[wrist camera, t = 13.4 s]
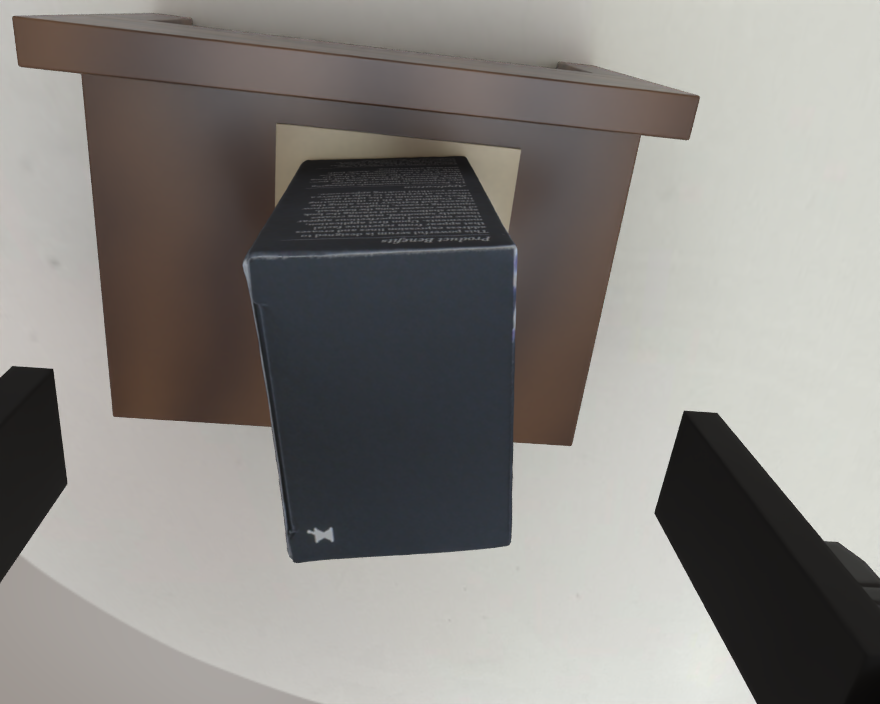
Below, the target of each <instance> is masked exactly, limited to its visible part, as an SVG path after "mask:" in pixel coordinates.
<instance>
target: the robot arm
mask: <svg viewBox="0 0 880 704" xmlns="http://www.w3.org/2000/svg"><path fill="white" fill-rule="evenodd" d="M66 485H67V476H66V468H65V460H64V452H63V444H62V436H61V427H60V419H59V411H58V403H57V395H56V387H55V379H54V371H53V369H47V368H32V367H17V366H12V367H11V368H10V369H9V370H8V371H7V372H6V373H5V374H4V375H3V376H2V377H0V582H1V581H2V579H3V578H4V576H5V575H6V573H7V572H8V570H9V569H10V568H11V566H12V565H13V563H14V562H15V560H16V559H17V557H18V556H19V554H20V553H21V551H22V550H23V548H24V547H25V546H26V544H27V543H28V541H29V540H30V538H31V537H32V535H33V534H34V532H35V531H36V529H37V528H38V526H39V525H40V523H41V522H42V521H43V519H44V518H45V516H46V515H47V513H48V512H49V510H50V509H51V507H52V506H53V504H54V503H55V501H56V500H57V498H58V497H59V496H60V494H61V493H62V491H63V490H64V488H65V487H66ZM655 515H656V517H657V519H658V521H659V523H660V525H661V526H662V528H663V530H664V532H665V534H666V536H667V538H668V539H669V541H670V543H671V545H672V547H673V549H674V551H675V552H676V554H677V556H678V558H679V560H680V562H681V564H682V565H683V567H684V569H685V571H686V573H687V575H688V577H689V578H690V580H691V582H692V584H693V586H694V588H695V590H696V591H697V593H698V595H699V597H700V599H701V601H702V603H703V604H704V606H705V608H706V610H707V612H708V614H709V616H710V617H711V619H712V621H713V623H714V625H715V627H716V629H717V630H718V632H719V634H720V636H721V638H722V640H723V642H724V643H725V645H726V647H727V649H728V651H729V653H730V655H731V656H732V658H733V660H734V662H735V664H736V666H737V668H738V669H739V671H740V673H741V675H742V677H743V679H744V681H745V682H746V684H747V686H748V688H749V690H750V692H751V694H752V695H753V697H754V699H755V701H756V703H757V704H880V578H879V577H878V576H877V575H876V574H875V573H874V571H873V570H872V569H871V568H870V567H869V566H868V565H867V563H866V562H865V561H863V560H862V559H861V558H859V557H858V556H856V555H855V554H854V553H852V552H851V551H849V550H848V549H847V548H845V547H844V546H843V545H841V544H840V543H838V542H827V541H823V540H822V538H821V537H820V536H819V535H818V533H817V532H816V531H815V530H814V529H813V527H812V526H811V525H810V524H809V523H808V521H807V520H806V519H805V518H804V517H803V515H802V514H801V513H800V512H799V511H798V509H797V508H796V507H795V506H794V505H793V503H792V502H791V501H790V500H789V499H788V497H787V496H786V495H785V494H784V493H783V491H782V490H781V489H780V488H779V487H778V485H777V484H776V483H775V482H774V481H773V479H772V478H771V477H770V476H769V475H768V473H767V472H766V471H765V470H764V469H763V467H762V466H761V465H760V464H759V463H758V461H757V460H756V459H755V458H754V457H753V455H752V454H751V453H750V452H749V451H748V449H747V448H746V447H745V446H744V445H743V443H742V442H741V441H740V440H739V439H738V437H737V436H736V435H735V434H734V433H733V431H732V430H731V429H730V428H729V427H728V425H727V424H726V423H725V422H724V421H723V419H722V418H721V417H720V416H719V415H718V413H710V412H695V411H684V412H683V416H682V419H681V423H680V426H679V430H678V433H677V437H676V440H675V443H674V447H673V450H672V454H671V457H670V461H669V464H668V468H667V471H666V475H665V478H664V482H663V485H662V488H661V492H660V495H659V499H658V502H657V506H656V509H655Z"/></svg>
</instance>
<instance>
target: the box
mask: <svg viewBox="0 0 880 704" xmlns="http://www.w3.org/2000/svg"><path fill="white" fill-rule="evenodd" d="M242 266H243V270H244V274H245V277H246V280H247V285H248V290H249V294H250V298H251V304H252V310H253V315H254V320H255V326H256V331H257V336H258V342H259V351H260V357H261V364H262V370H263V375H264V381H265V387H266V393H267V398H268V404H269V409H270V419H271V426H272V434H273V441H274V447H275V453H276V461H277V467H278V473H279V484H280V491H281V498H282V506H283V514H284V523H285V530H286V542H287V551H288V554H289V557H290V558H291V559H292V560H293V562H295V563H302V562H308V561H319V560H329V559H345V558H358V557H376V556H393V555H411V554H427V553H442V552H455V551H466V550H478V549H487V548H495V547H503V546H508V545H509V544H510V543H511V532H512V478H513V473H512V466H513V423H514V377H515V326H516V281H517V247H516V245H515V243H514V242H513V240H512V239H511V238H510V236H509V234H508V232H507V230H506V229H505V227H504V226H503V224H502V222H501V220H500V218H499V216H498V214H497V213H496V211H495V209H494V207H493V205H492V204H491V201H490V199H489V198H488V196H487V194H486V192H485V191H484V188H483V187H482V184H481V183H480V181H479V179H478V177H477V176H476V174H475V172H474V170H473V168H472V167H471V165H470V163H469V161H468V159H467V158H466V157H465V156H447V157H414V158H406V157H404V158H376V159H336V160H306V161H304V162H303V163H302V164H301V165H300V167H299V169H298V170H297V172H296V174H295V176H294V177H293V179H292V180H291V182H290V184H289V185H288V187H287V189H286V191H285V192H284V194H283V196H282V197H281V199H280V200H279V202H278V204H277V205H276V207H275V209H274V210H273V213H272V214H271V215H270V217H269V218H268V220H267V222H266V224H265V225H264V227H263V228H262V230H261V231H260V232H259V235H258V237H257V238H256V240H255V241H254V243H253V245H252V246H251V248H250V249H249V250H248V252H247V254H246V256H245V258H244V260H243V265H242Z"/></svg>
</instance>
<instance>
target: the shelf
mask: <svg viewBox="0 0 880 704" xmlns="http://www.w3.org/2000/svg"><path fill="white" fill-rule="evenodd" d="M12 20H13V28H14V35H15V43H16V51H17V59H18V65H19V66H20V67H25V68H34V69H43V70H53V71H62V72H71V73H80V74H81V76H82V87H83V97H84V108H85V119H86V130H87V140H88V151H89V162H90V173H91V183H92V194H93V205H94V216H95V226H96V237H97V248H98V259H99V270H100V280H101V291H102V302H103V313H104V323H105V334H106V345H107V356H108V366H109V377H110V388H111V399H112V409H113V416H114V417H126V418H142V419H158V420H173V421H189V422H204V423H220V424H235V425H251V426H267V427H272V426H271V419H270V409H269V404H268V398H267V393H266V387H265V381H264V375H263V370H262V364H261V357H260V351H259V342H258V336H257V331H256V326H255V320H254V315H253V310H252V304H251V298H250V294H249V290H248V285H247V280H246V277H245V274H244V270H243V266H242V265H243V260H244V258H245V256H246V254H247V252H248V250H249V249H250V248H251V246H252V245H253V243H254V241H255V240H256V238H257V237H258V235H259V232H260V231H261V230H262V228H263V227H264V225H265V224H266V222H267V220H268V218H269V217H270V215H271V214H272V213H273V210H274V209H275V207H276V205H277V204H278V202H279V200H280V199H281V197H282V196H283V194H284V192H285V191H286V189H287V187H288V185H289V184H290V182H291V180H292V179H293V177H294V176H295V174H296V172H297V170H298V169H299V167H300V165H301V164H302V163H303V162H304V161H306V160H336V159H376V158H404V157H406V158H414V157H447V156H465V157H466V158H467V159H468V161H469V163H470V165H471V167H472V168H473V170H474V172H475V174H476V176H477V177H478V179H479V181H480V183H481V184H482V187H483V188H484V191H485V192H486V194H487V196H488V198H489V199H490V201H491V204H492V205H493V207H494V209H495V211H496V213H497V214H498V216H499V218H500V220H501V222H502V224H503V226H504V227H505V229H506V230H507V232H508V234H509V236H510V238H511V239H512V240H513V242H514V243H515V245H516V247H517V281H516V326H515V377H514V423H513V442H516V443H532V444H547V445H563V446H571V445H572V442H573V438H574V433H575V429H576V424H577V420H578V415H579V411H580V406H581V402H582V398H583V393H584V389H585V384H586V380H587V375H588V371H589V366H590V362H591V357H592V353H593V348H594V344H595V339H596V335H597V330H598V326H599V321H600V317H601V312H602V308H603V303H604V299H605V295H606V290H607V286H608V281H609V277H610V272H611V268H612V263H613V259H614V254H615V250H616V245H617V241H618V236H619V232H620V227H621V223H622V218H623V214H624V209H625V205H626V200H627V196H628V192H629V187H630V183H631V178H632V174H633V169H634V165H635V160H636V156H637V151H638V147H639V142H640V138H641V135H644V136H653V137H662V138H671V139H680V140H689V139H690V135H691V131H692V127H693V123H694V119H695V115H696V111H697V107H698V103H699V99H700V97H699V96H698V95H694V94H691V93H687V92H684V91H680V90H677V89H673V88H670V87H666V86H663V85H659V84H656V83H652V82H649V81H645V80H642V79H638V78H635V77H632V76H628V75H625V74H621V73H618V72H614V71H611V70H607V69H604V68H600V67H597V66H592V65H583V64H575V63H566V62H558V65H557V69H554V68H546V67H537V66H529V65H520V64H512V63H503V62H495V61H486V60H478V59H469V58H461V57H452V56H444V55H435V54H427V53H419V52H410V51H402V50H393V49H385V48H376V47H368V46H359V45H351V44H342V43H334V42H325V41H317V40H308V39H300V38H292V37H283V36H275V35H266V34H258V33H249V32H241V31H232V30H224V29H215V28H207V27H198V26H192V18H189V17H180V16H172V15H163V14H155V13H135V14H86V15H33V16H13V18H12Z"/></svg>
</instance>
